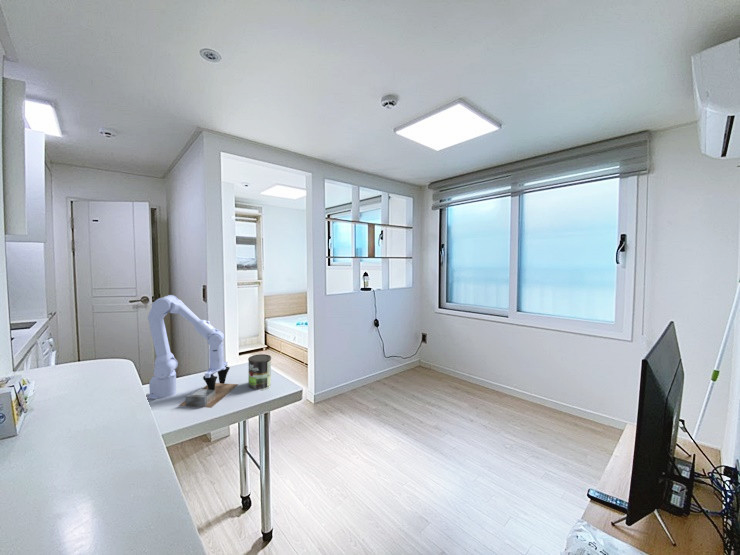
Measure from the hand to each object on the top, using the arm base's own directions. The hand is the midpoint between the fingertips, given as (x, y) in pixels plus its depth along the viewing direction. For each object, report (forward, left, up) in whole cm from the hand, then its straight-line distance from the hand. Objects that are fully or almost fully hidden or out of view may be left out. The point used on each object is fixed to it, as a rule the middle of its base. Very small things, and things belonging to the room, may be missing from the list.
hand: (217, 386), depth 137 cm
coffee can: (+17, +8, -2) cm, 19 cm away
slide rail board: (0, -4, -2) cm, 5 cm away
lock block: (0, -10, -1) cm, 10 cm away
